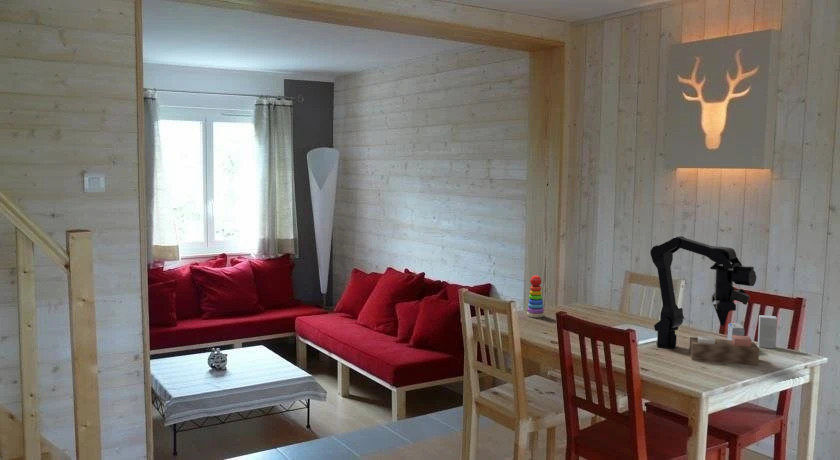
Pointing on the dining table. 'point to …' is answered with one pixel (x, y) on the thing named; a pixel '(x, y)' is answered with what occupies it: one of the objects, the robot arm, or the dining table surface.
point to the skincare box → (767, 331)
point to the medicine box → (734, 330)
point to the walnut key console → (724, 352)
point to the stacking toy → (535, 298)
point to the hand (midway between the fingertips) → (722, 325)
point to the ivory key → (705, 339)
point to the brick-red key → (741, 341)
